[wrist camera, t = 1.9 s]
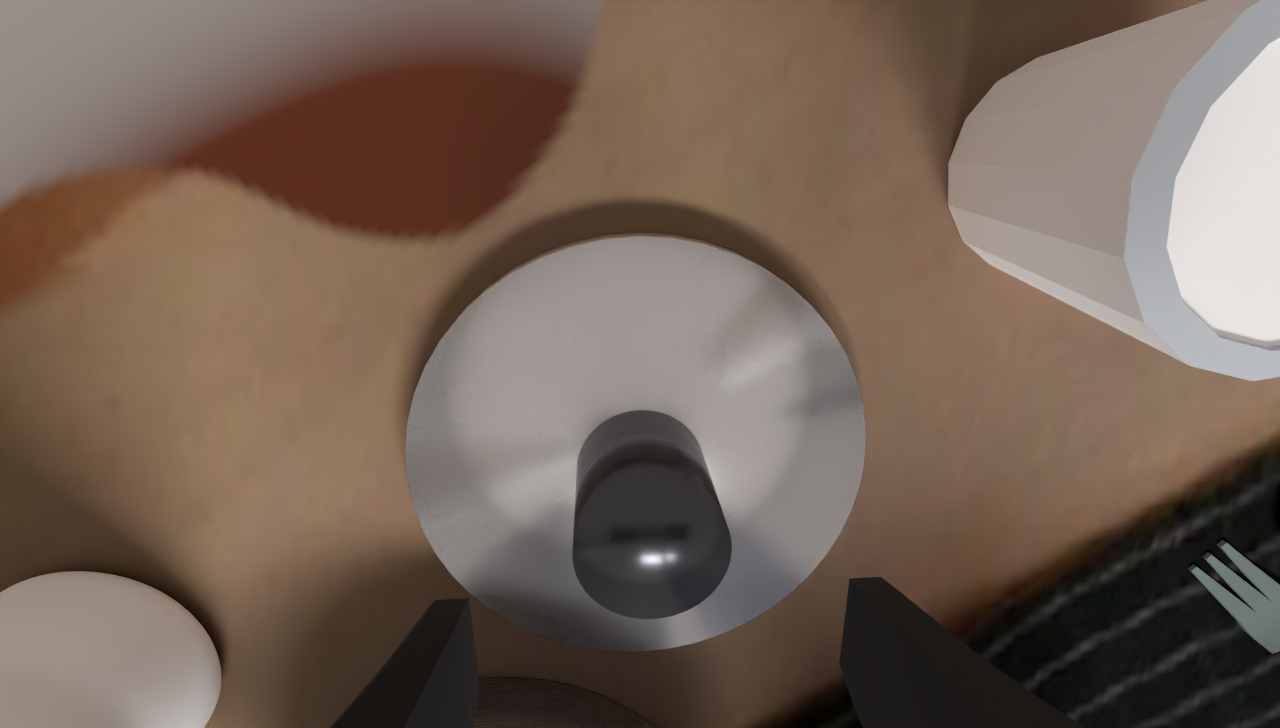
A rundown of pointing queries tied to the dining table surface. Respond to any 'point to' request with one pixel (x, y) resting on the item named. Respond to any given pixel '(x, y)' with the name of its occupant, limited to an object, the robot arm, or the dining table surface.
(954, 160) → the white cup
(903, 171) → the dining table surface
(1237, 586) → the cutlery set
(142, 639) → the water bottle
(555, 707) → the cooking pot
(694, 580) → the steel lid
